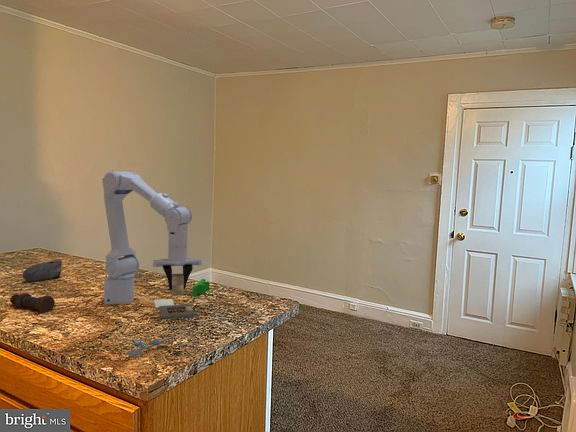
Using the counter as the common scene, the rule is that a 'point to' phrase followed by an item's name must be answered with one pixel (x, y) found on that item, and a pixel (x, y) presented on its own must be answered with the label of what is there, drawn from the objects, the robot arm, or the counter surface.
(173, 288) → the birch peg
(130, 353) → the key chain
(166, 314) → the plate
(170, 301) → the white rectangular plate
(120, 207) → the robot arm
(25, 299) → the dark brown elongated lump
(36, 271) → the perforated stone tool
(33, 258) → the counter surface
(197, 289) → the pipe clamp
